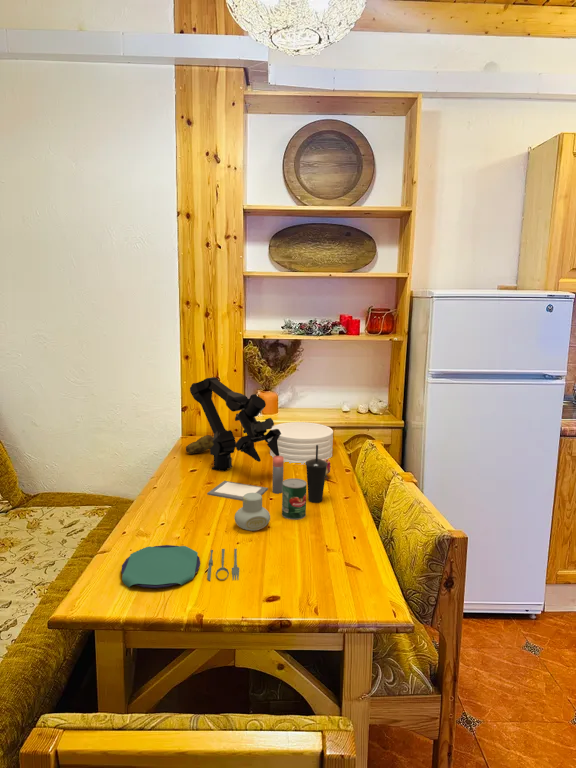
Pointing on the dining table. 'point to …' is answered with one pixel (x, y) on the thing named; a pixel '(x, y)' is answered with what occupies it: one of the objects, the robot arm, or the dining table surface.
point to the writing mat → (235, 490)
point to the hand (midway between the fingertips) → (269, 458)
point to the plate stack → (303, 441)
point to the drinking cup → (316, 478)
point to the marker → (277, 474)
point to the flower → (327, 468)
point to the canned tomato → (294, 499)
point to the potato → (200, 445)
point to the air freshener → (252, 513)
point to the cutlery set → (167, 566)
